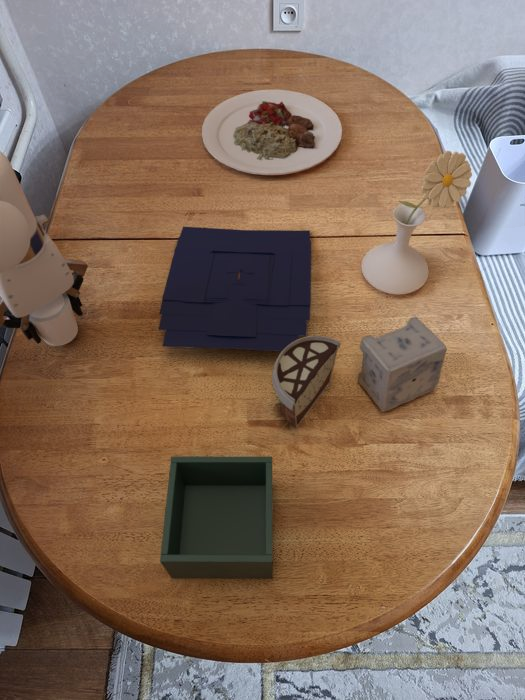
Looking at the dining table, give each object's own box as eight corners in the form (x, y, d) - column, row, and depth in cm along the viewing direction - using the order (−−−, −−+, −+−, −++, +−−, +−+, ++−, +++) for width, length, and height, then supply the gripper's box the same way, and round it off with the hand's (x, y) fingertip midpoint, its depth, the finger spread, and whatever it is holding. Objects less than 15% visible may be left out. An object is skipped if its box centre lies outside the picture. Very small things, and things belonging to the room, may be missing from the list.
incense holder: (405, 351, 87) (419, 310, 78) (436, 392, 83) (455, 353, 74) (351, 374, 85) (360, 334, 76) (380, 417, 80) (393, 380, 72)
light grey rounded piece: (67, 308, 91) (54, 279, 85) (90, 332, 88) (77, 304, 82) (30, 331, 88) (13, 302, 83) (52, 356, 85) (36, 329, 80)
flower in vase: (363, 300, 93) (389, 179, 72) (357, 251, 99) (379, 127, 79) (441, 299, 93) (489, 178, 72) (429, 250, 99) (470, 126, 79)
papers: (152, 357, 85) (148, 341, 83) (183, 238, 105) (180, 222, 102) (309, 364, 84) (310, 348, 82) (310, 242, 104) (311, 226, 101)
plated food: (243, 199, 108) (242, 185, 105) (179, 122, 123) (177, 108, 120) (369, 151, 116) (371, 137, 113) (295, 83, 131) (295, 69, 128)
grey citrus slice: (301, 357, 87) (304, 318, 78) (334, 376, 85) (341, 338, 76) (255, 414, 81) (253, 379, 73) (290, 436, 79) (292, 402, 71)
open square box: (272, 578, 68) (272, 562, 61) (171, 578, 68) (159, 561, 61) (272, 481, 75) (272, 456, 68) (180, 481, 75) (171, 456, 68)
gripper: (54, 196, 77) (88, 282, 92) (-64, 259, 70) (-6, 342, 85) (84, 221, 74) (115, 307, 88) (-36, 291, 67) (19, 371, 82)
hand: (55, 323), depth 86 cm, fingers closed on light grey rounded piece, 6 cm apart
